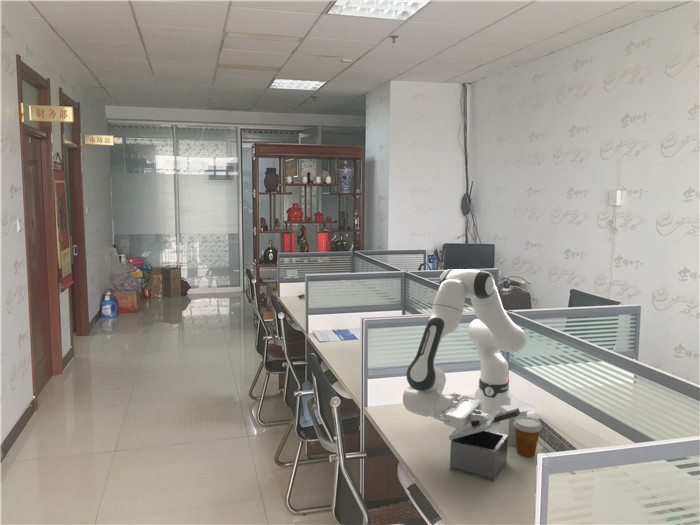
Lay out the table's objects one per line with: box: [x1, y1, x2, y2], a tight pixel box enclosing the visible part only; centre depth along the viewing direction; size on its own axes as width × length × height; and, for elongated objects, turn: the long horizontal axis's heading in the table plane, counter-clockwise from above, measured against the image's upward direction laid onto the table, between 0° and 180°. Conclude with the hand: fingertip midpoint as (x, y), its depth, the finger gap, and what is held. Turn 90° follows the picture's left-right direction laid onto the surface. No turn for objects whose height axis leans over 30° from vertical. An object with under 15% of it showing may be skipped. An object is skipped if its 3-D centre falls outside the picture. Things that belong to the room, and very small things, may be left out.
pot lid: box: [448, 408, 520, 441], centre depth 189 cm, size 15×23×2 cm, turn 60°
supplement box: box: [498, 404, 528, 446], centre depth 212 cm, size 7×7×13 cm
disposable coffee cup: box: [514, 416, 543, 459], centre depth 201 cm, size 10×10×12 cm
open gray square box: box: [449, 429, 509, 483], centre depth 192 cm, size 15×15×10 cm
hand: (486, 417), depth 189 cm, fingers closed
